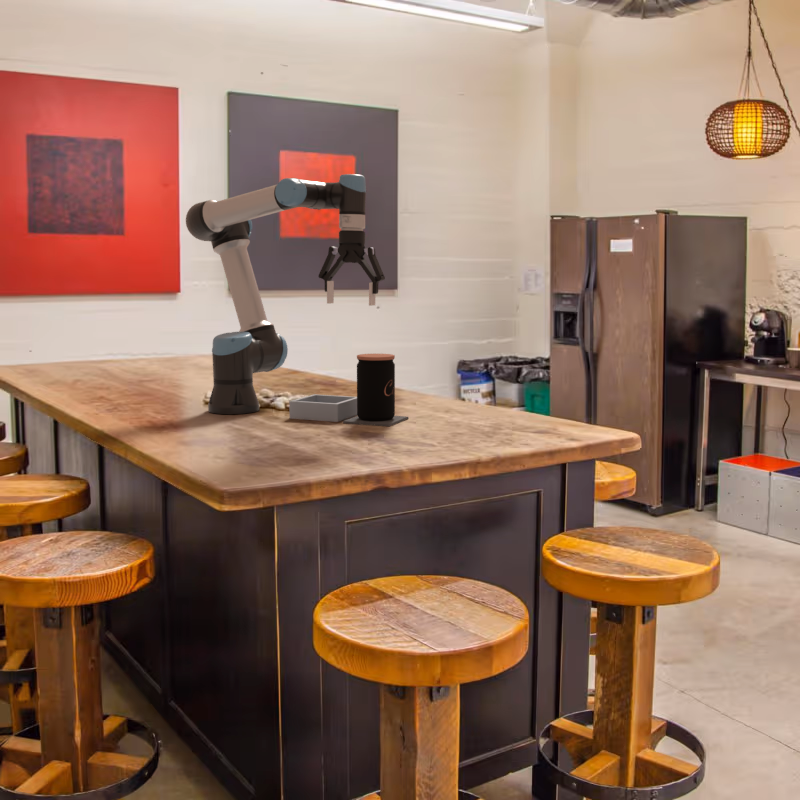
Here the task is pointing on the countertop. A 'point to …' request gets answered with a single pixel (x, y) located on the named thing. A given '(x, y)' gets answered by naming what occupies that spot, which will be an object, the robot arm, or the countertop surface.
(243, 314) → the robot arm
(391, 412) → the coffee jar
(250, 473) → the countertop surface
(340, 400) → the pocket frame
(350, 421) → the pad
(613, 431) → the countertop surface
